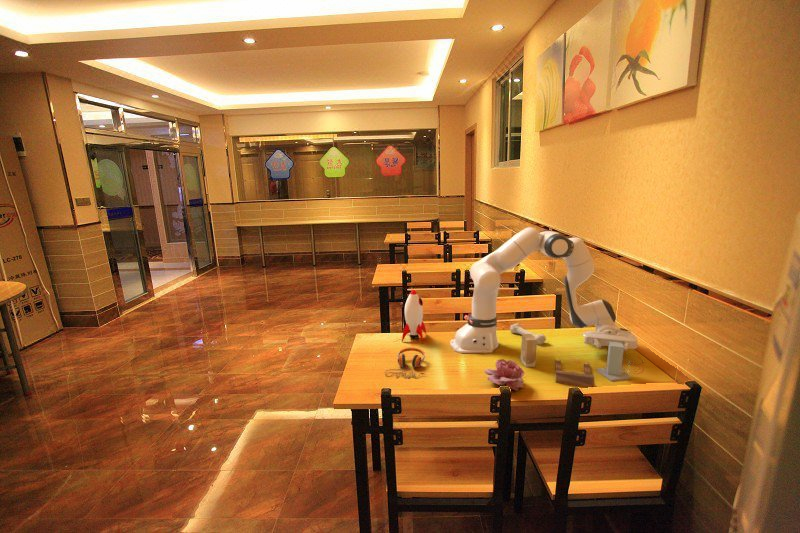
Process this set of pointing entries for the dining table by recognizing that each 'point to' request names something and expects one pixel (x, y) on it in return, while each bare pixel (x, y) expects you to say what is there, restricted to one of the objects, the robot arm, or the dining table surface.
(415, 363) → the headphones
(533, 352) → the skincare box
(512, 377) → the flower
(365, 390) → the dining table surface
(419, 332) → the rocket
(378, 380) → the dining table surface
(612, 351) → the block
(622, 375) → the coaster
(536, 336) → the dog toy
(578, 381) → the channel
